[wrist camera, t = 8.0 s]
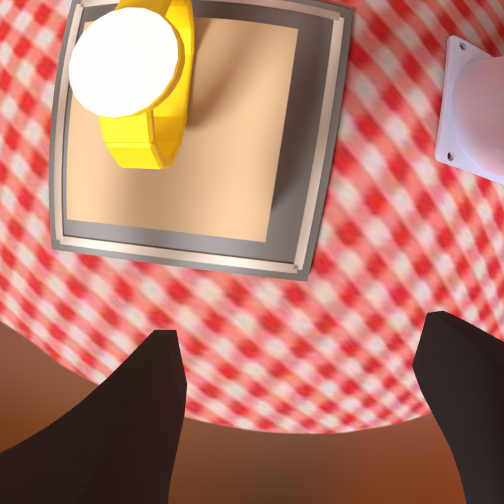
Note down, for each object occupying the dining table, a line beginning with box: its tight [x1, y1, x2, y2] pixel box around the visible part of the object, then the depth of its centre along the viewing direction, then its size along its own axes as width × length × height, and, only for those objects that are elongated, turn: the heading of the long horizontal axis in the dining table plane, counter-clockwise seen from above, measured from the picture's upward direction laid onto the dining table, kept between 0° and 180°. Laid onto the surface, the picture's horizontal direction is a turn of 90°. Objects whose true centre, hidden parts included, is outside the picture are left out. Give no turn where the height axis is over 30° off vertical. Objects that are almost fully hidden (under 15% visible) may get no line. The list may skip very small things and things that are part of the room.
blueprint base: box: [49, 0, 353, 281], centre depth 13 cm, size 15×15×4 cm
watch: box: [69, 0, 195, 169], centre depth 8 cm, size 6×3×6 cm, turn 174°
